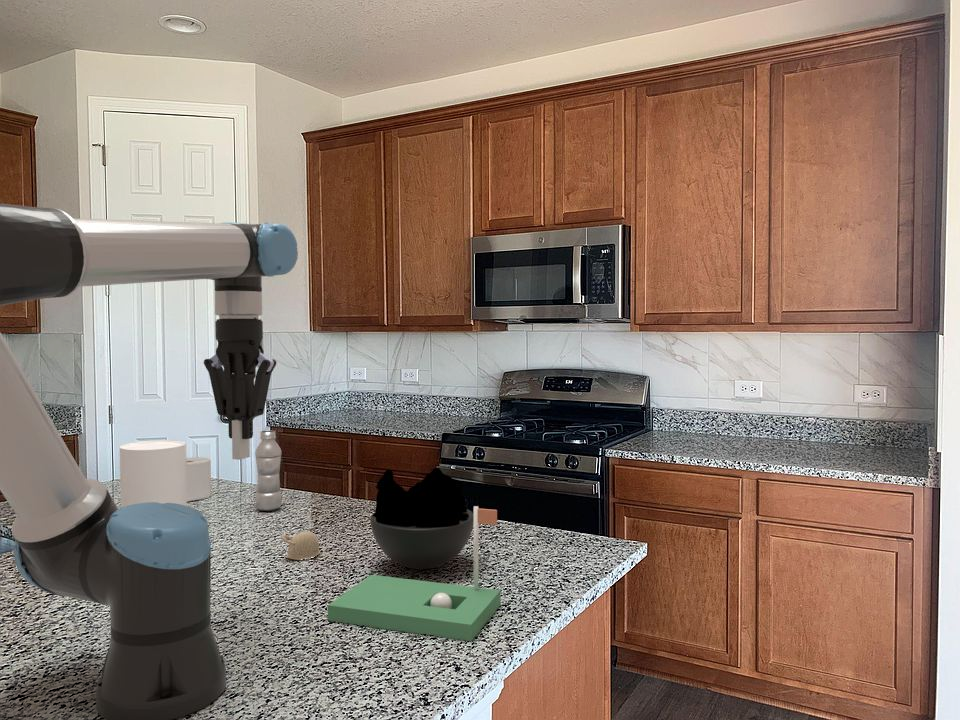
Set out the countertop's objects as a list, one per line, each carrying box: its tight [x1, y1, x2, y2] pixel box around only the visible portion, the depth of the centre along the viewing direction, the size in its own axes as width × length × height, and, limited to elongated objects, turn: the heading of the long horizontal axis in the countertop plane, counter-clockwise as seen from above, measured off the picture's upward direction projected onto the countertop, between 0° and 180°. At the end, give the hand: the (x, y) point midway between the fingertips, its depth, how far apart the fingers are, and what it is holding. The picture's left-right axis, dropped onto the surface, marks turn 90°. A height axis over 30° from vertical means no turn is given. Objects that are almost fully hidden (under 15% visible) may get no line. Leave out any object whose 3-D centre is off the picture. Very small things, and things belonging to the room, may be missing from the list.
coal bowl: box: [369, 467, 474, 570], centre depth 142 cm, size 20×20×19 cm
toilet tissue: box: [186, 456, 212, 502], centre depth 200 cm, size 11×12×10 cm
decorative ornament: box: [281, 531, 321, 561], centre depth 148 cm, size 4×8×5 cm, turn 124°
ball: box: [430, 593, 452, 609], centre depth 119 cm, size 4×4×4 cm
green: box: [327, 505, 502, 642], centre depth 120 cm, size 15×24×16 cm, turn 72°
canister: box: [119, 439, 188, 508], centre depth 165 cm, size 14×14×20 cm
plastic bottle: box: [254, 429, 283, 512], centre depth 186 cm, size 6×7×20 cm
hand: (241, 457), depth 124 cm, fingers closed
